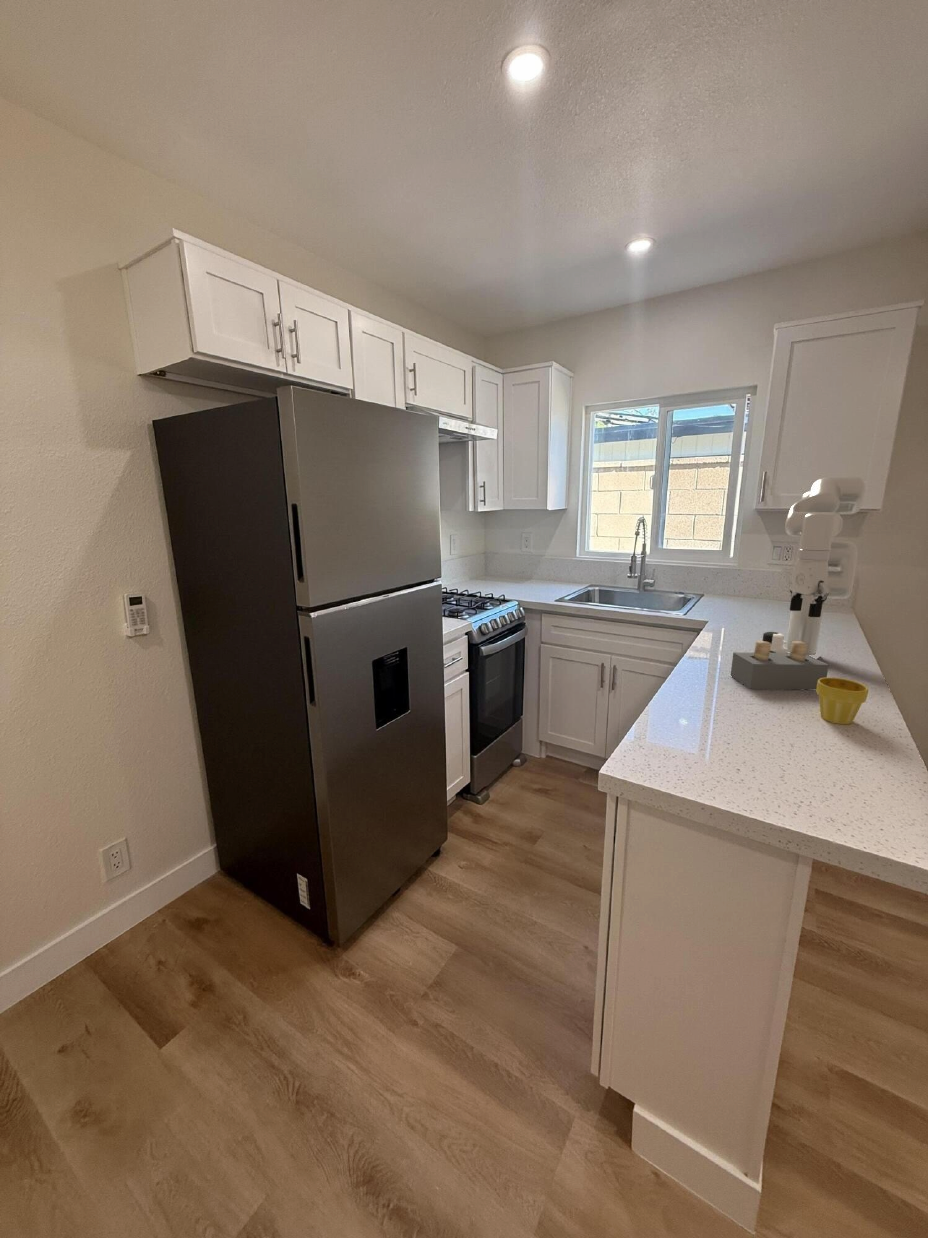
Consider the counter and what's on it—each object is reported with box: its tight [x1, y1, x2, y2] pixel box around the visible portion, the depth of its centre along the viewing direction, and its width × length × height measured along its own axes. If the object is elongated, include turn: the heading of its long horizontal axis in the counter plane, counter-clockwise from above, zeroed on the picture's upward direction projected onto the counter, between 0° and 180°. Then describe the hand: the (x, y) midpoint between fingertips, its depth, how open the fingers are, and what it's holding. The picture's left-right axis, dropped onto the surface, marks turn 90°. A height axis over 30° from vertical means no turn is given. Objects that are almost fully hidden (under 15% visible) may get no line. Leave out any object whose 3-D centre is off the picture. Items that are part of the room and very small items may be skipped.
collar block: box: [730, 651, 830, 690], centre depth 154 cm, size 12×22×8 cm, turn 88°
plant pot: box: [815, 676, 869, 725], centre depth 127 cm, size 10×10×10 cm
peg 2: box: [790, 641, 808, 661], centre depth 153 cm, size 4×4×7 cm
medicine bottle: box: [761, 631, 789, 653], centre depth 169 cm, size 7×7×12 cm
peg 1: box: [753, 640, 771, 661], centre depth 153 cm, size 4×4×7 cm
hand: (804, 613), depth 150 cm, fingers open, 8 cm apart
